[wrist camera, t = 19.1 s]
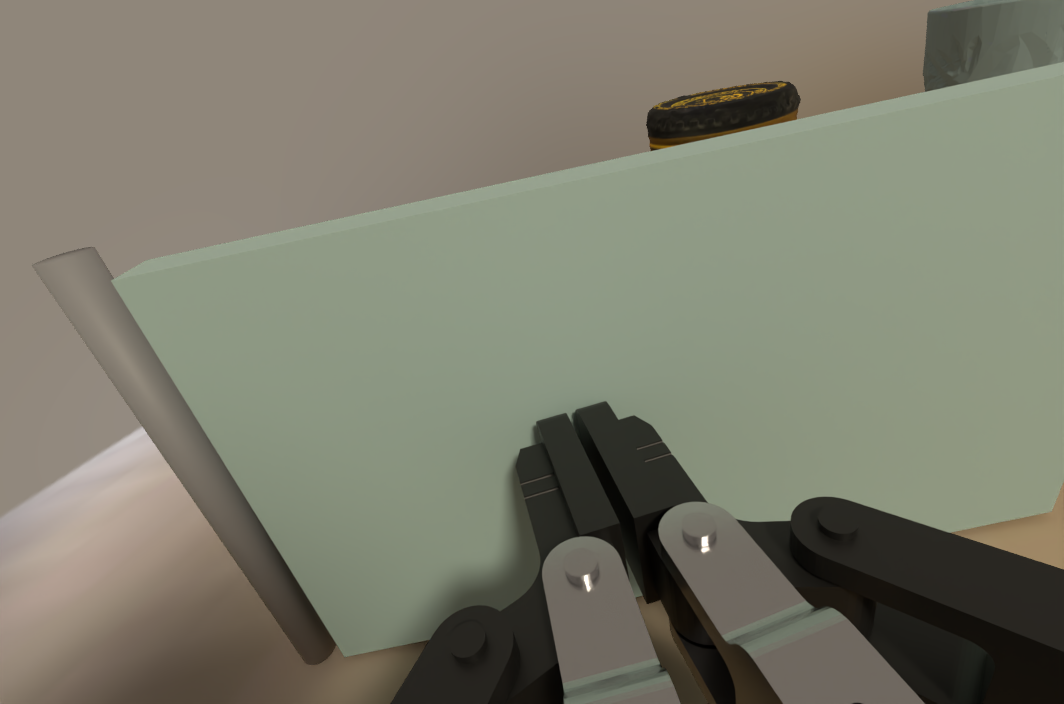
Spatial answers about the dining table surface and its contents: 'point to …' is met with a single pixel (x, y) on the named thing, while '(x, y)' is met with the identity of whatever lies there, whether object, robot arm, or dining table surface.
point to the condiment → (721, 113)
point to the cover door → (611, 349)
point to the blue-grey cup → (991, 40)
